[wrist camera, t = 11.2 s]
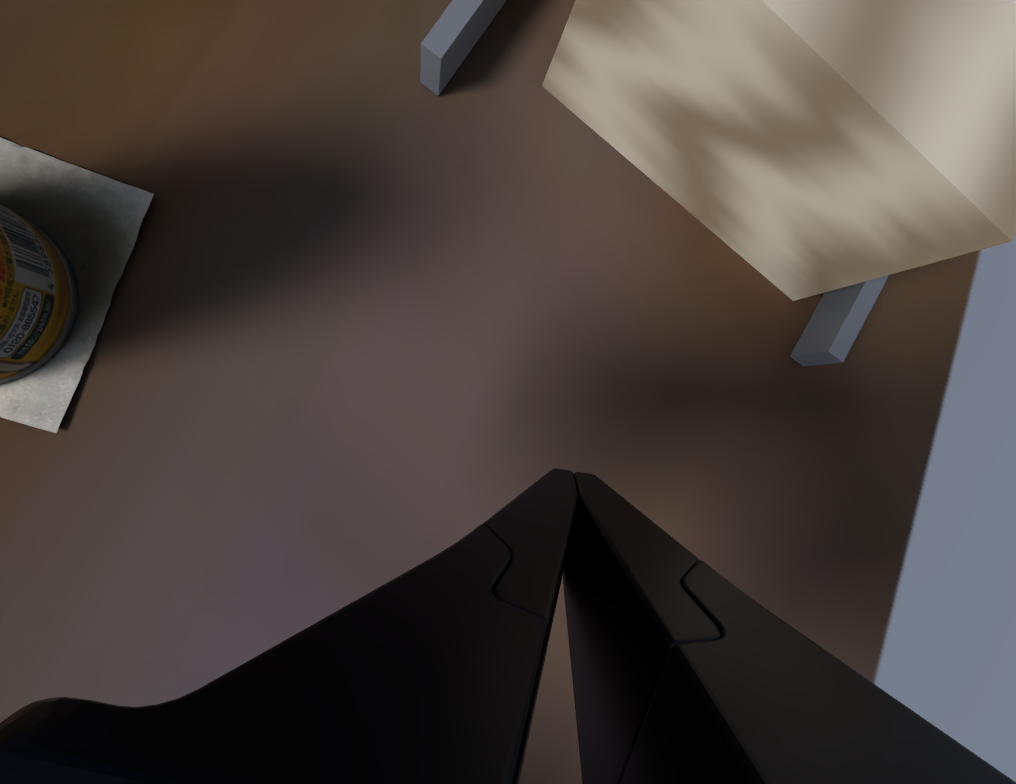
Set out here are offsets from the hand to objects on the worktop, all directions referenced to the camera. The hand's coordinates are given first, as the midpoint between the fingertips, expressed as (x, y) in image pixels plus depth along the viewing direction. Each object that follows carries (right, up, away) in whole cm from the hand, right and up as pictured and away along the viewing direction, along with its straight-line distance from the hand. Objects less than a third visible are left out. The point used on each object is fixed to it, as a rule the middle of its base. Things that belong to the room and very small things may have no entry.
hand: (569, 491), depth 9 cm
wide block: (+8, +13, +11) cm, 19 cm away
